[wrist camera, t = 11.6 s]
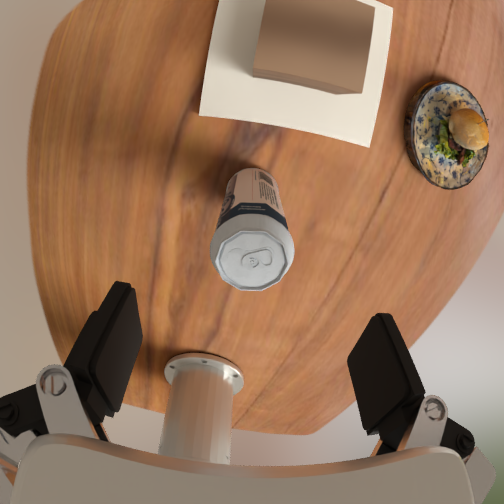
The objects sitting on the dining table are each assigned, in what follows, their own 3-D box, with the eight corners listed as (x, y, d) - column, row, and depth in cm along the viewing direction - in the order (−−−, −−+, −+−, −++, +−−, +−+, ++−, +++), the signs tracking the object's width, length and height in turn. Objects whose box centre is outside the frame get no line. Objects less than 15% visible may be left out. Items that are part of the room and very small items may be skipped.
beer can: (219, 174, 24) (194, 235, 14) (270, 160, 23) (285, 211, 13) (235, 220, 26) (224, 304, 16) (283, 208, 26) (303, 286, 16)
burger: (397, 180, 24) (437, 209, 18) (402, 68, 18) (449, 65, 12) (473, 188, 24) (512, 214, 18) (482, 95, 18) (527, 105, 12)
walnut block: (335, 94, 19) (361, 93, 14) (252, 77, 19) (252, 67, 14) (347, 25, 16) (375, 7, 11) (266, 6, 15) (270, -22, 10)
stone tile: (365, 145, 22) (369, 147, 22) (201, 115, 21) (198, 115, 20) (388, 10, 15) (393, 8, 14) (228, -28, 14) (227, -32, 13)
